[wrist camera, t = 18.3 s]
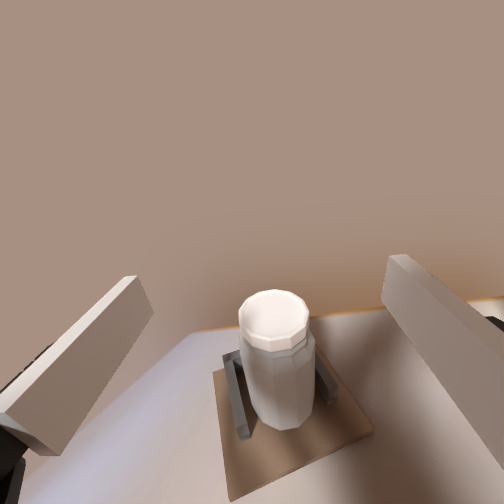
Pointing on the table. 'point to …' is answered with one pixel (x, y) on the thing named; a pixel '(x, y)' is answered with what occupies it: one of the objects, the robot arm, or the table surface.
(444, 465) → the table surface
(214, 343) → the table surface
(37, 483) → the table surface
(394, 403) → the table surface
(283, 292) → the jar
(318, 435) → the mounting board
